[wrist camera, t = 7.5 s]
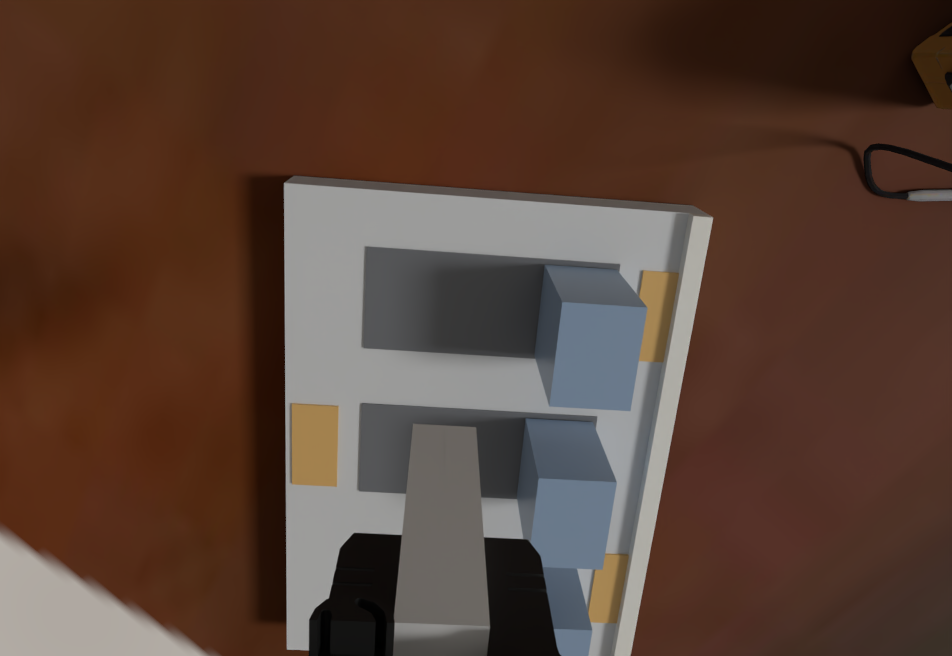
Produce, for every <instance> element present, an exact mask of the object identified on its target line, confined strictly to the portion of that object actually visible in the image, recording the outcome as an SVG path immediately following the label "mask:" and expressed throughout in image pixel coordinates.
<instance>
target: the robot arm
mask: <svg viewBox="0 0 952 656" xmlns="http://www.w3.org/2000/svg"><path fill="white" fill-rule="evenodd" d="M309 656H561V655H560V654H559V651H558V648H557V644H556V638H555V633H554V627H553V622H552V616H551V611H550V605H549V600H548V594H547V588H546V583H545V578H544V572H543V566H542V561H541V556H540V554H539V553H538V552H537V551H536V549H535V548H534V547H533V546H532V544H531V543H530V542H529V540H528V539H510V538H490V537H484V532H483V518H482V504H481V489H480V475H479V461H478V446H477V432H476V427H463V426H446V425H428V424H413V430H412V440H411V450H410V460H409V470H408V480H407V490H406V500H405V510H404V520H403V530H402V535H392V534H371V533H353V534H352V535H351V536H350V538H349V539H348V540H347V541H346V542H345V543H344V544H343V545H342V547H341V548H340V550H339V555H338V559H337V564H336V570H335V573H334V577H333V583H332V586H331V591H330V595H329V599H326V600H325V601H324V602H322V603H321V604H320V605H319V606H317V607H316V608H315V609H314V611H313V613H312V615H311V617H310V619H309Z"/></svg>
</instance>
